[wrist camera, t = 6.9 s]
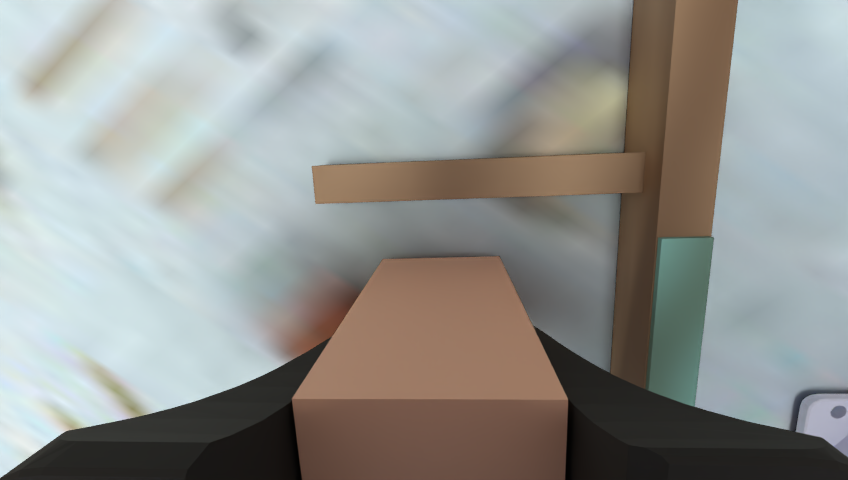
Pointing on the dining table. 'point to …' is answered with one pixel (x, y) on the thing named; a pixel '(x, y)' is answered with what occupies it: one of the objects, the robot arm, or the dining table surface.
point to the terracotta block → (433, 382)
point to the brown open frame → (620, 187)
